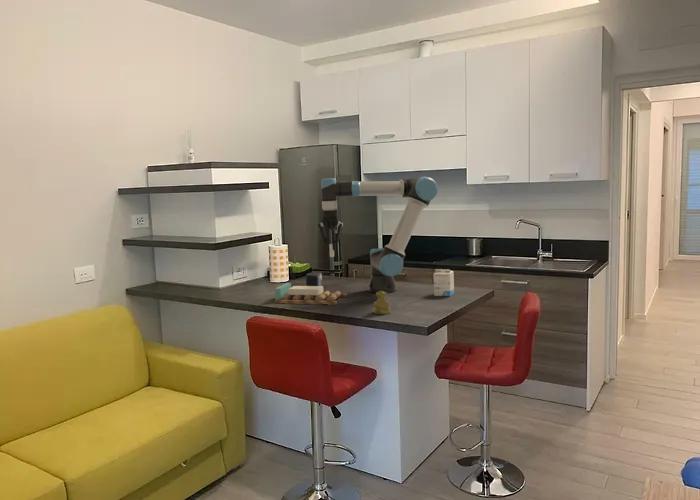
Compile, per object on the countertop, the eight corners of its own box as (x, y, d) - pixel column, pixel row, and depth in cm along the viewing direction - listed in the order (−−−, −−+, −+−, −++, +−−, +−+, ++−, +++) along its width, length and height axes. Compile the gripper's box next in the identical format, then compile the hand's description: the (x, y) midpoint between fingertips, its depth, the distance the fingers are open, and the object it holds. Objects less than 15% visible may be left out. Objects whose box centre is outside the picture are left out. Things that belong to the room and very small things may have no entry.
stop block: (291, 296, 294) (290, 283, 293) (281, 302, 281) (280, 288, 280) (286, 296, 295) (285, 283, 294) (275, 302, 281) (274, 288, 281)
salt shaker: (375, 310, 255) (375, 289, 254) (391, 310, 253) (391, 289, 251) (371, 314, 248) (371, 292, 247) (388, 314, 246) (387, 292, 244)
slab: (323, 292, 285) (323, 286, 285) (318, 295, 278) (318, 289, 277) (294, 291, 290) (294, 285, 289) (288, 294, 282) (288, 288, 282)
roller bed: (347, 296, 288) (346, 290, 287) (335, 304, 270) (335, 298, 269) (290, 295, 297) (289, 289, 296) (275, 303, 279) (275, 296, 278)
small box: (318, 294, 296) (317, 275, 295) (306, 294, 297) (305, 275, 296) (323, 290, 306) (322, 271, 305) (311, 290, 308) (310, 271, 306)
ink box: (454, 293, 285) (454, 267, 283) (450, 296, 277) (449, 270, 275) (438, 292, 288) (437, 266, 286) (433, 295, 281) (433, 269, 279)
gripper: (344, 208, 276) (346, 255, 279) (319, 209, 279) (322, 255, 282) (340, 209, 269) (342, 257, 272) (314, 210, 272) (317, 257, 275)
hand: (332, 256), depth 277 cm, fingers closed
